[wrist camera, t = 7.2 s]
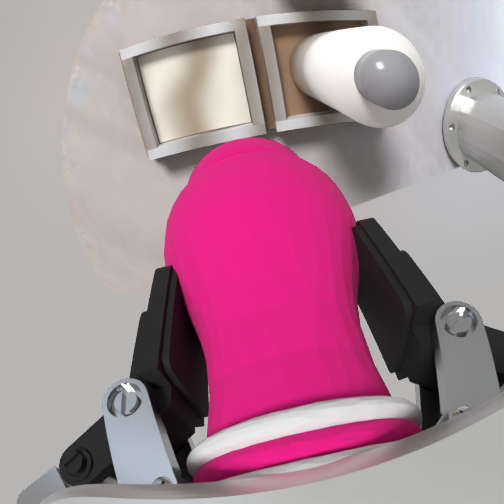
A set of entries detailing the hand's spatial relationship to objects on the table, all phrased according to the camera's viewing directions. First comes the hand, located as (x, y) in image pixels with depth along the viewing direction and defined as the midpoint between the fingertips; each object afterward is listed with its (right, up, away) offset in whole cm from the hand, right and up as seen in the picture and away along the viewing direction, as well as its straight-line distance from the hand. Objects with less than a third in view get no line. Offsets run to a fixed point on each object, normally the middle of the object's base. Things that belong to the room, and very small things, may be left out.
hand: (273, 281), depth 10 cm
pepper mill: (-1, +4, +6) cm, 7 cm away
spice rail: (0, +18, +17) cm, 24 cm away
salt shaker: (+6, +18, +15) cm, 24 cm away
